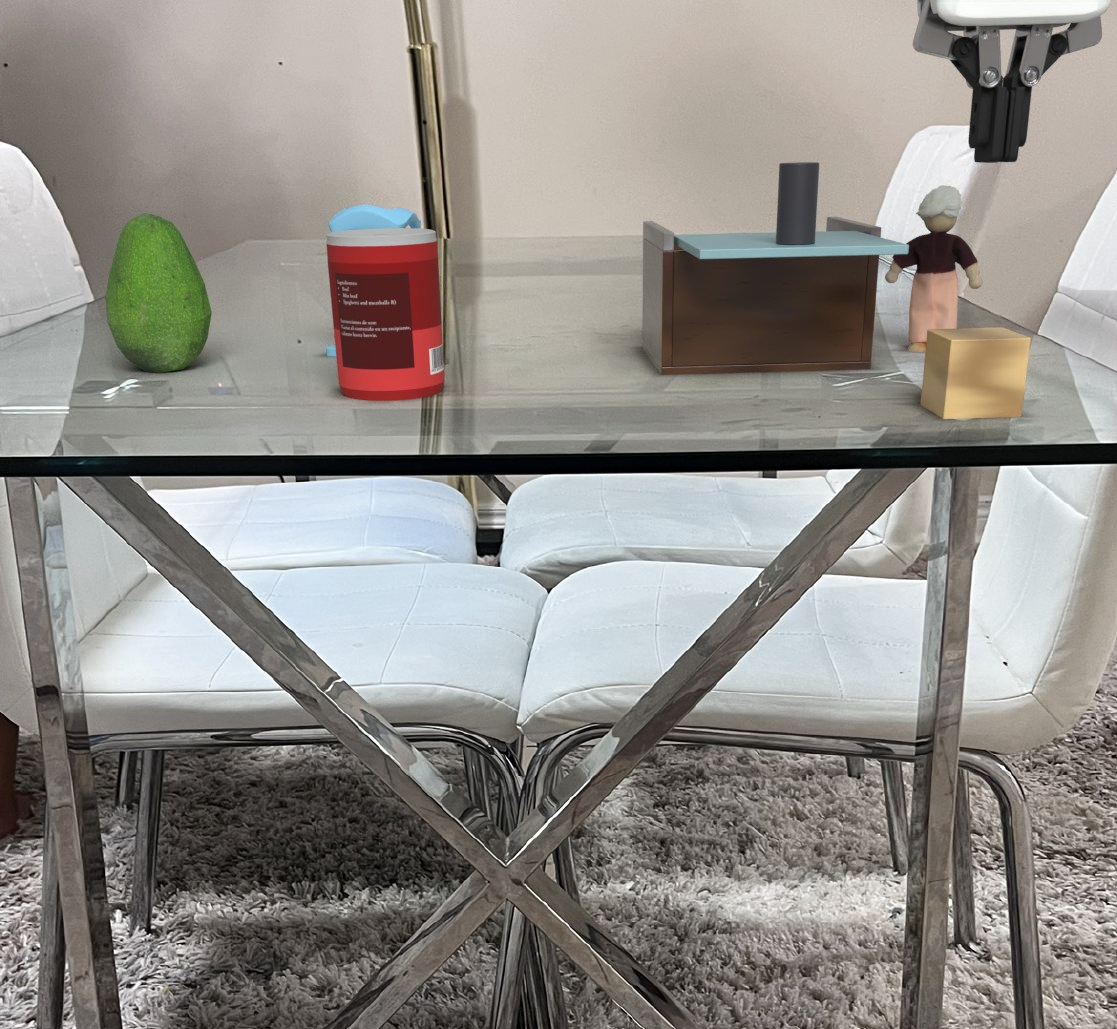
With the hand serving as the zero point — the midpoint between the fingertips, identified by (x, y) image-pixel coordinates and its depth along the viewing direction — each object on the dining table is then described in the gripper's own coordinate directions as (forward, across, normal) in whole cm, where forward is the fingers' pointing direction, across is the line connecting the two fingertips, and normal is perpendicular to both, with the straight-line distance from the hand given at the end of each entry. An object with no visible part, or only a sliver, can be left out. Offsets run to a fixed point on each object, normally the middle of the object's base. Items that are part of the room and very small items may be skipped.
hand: (995, 161), depth 80 cm
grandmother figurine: (+15, +5, +26) cm, 30 cm away
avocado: (+14, -57, +26) cm, 64 cm away
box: (+15, -10, +24) cm, 30 cm away
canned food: (+15, -38, +13) cm, 43 cm away
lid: (+6, -10, +13) cm, 17 cm away
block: (+15, 0, 0) cm, 15 cm away
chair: (+14, -40, +34) cm, 54 cm away
